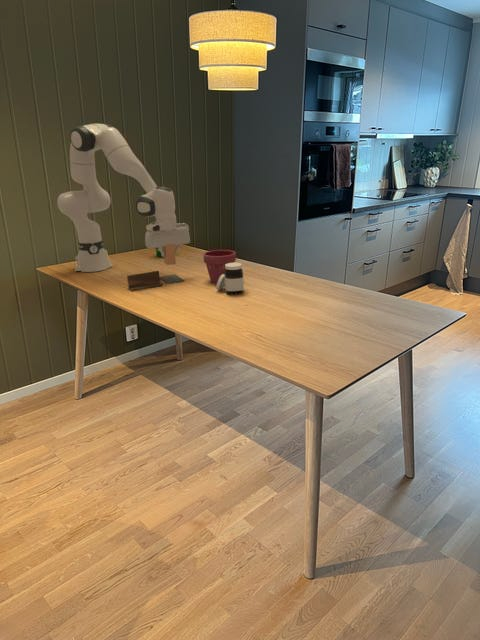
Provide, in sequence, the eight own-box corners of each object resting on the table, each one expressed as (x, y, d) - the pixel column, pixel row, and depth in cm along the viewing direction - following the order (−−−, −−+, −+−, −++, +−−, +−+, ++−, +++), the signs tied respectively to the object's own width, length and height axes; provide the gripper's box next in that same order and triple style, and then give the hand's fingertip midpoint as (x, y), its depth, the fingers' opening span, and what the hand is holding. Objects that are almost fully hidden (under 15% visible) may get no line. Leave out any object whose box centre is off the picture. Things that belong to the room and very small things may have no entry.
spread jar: (244, 295, 190) (243, 267, 186) (216, 296, 190) (215, 268, 186) (242, 286, 202) (241, 260, 198) (216, 288, 201) (214, 261, 197)
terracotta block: (164, 263, 214) (162, 243, 211) (172, 262, 216) (171, 242, 213) (167, 265, 211) (165, 245, 208) (175, 263, 213) (174, 244, 210)
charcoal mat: (159, 278, 220) (158, 276, 220) (175, 275, 223) (175, 274, 223) (167, 284, 210) (167, 282, 210) (184, 281, 213) (184, 279, 213)
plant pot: (226, 274, 221) (225, 247, 216) (242, 281, 210) (241, 252, 205) (199, 280, 214) (197, 252, 209) (215, 287, 202) (213, 257, 198)
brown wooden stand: (128, 288, 205) (126, 275, 203) (159, 283, 211) (157, 270, 209) (131, 291, 201) (129, 277, 199) (162, 286, 207) (161, 272, 205)
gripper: (185, 221, 215) (188, 251, 220) (142, 226, 206) (145, 257, 211) (191, 223, 209) (193, 253, 214) (146, 228, 201) (150, 260, 206)
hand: (169, 255), depth 212 cm, fingers closed on terracotta block, 4 cm apart
